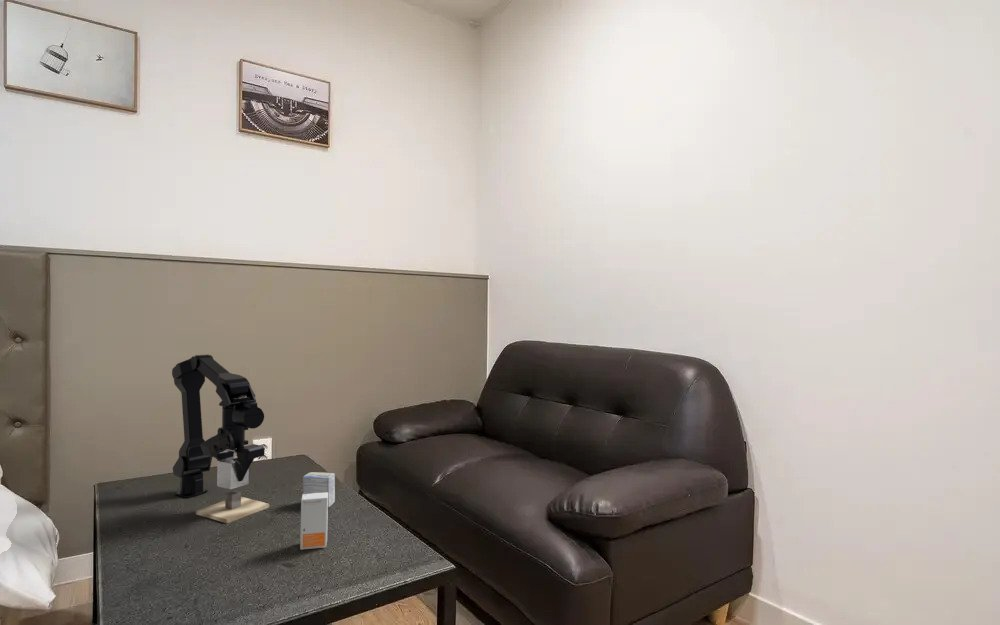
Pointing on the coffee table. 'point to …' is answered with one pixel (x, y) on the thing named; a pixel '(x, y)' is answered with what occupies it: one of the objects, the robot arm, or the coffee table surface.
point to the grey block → (229, 474)
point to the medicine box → (320, 484)
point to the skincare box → (314, 520)
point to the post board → (233, 513)
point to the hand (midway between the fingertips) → (233, 479)
